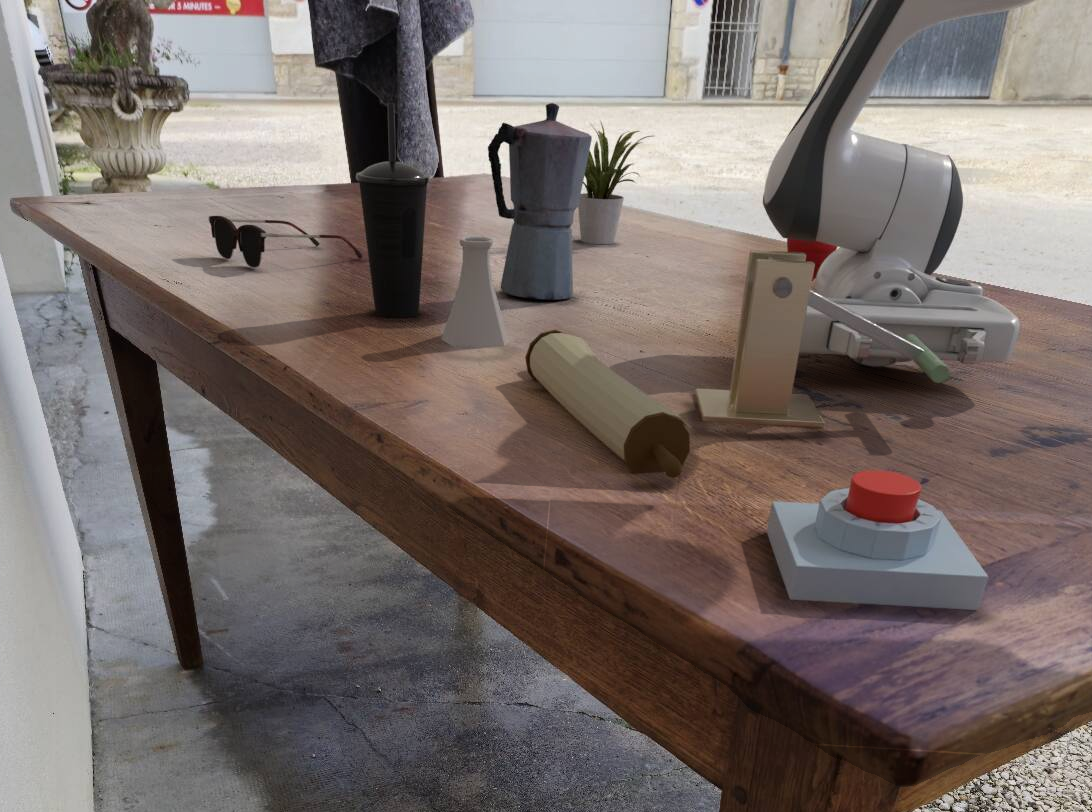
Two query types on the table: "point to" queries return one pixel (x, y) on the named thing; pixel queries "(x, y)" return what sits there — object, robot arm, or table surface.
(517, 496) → the table surface
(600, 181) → the house plant
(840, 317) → the lever
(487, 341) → the flask
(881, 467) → the table surface
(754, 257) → the bracket
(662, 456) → the rolling pin
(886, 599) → the control block
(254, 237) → the sunglasses
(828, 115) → the robot arm
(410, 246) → the drinking cup
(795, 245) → the strawberry
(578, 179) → the moka pot
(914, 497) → the button
